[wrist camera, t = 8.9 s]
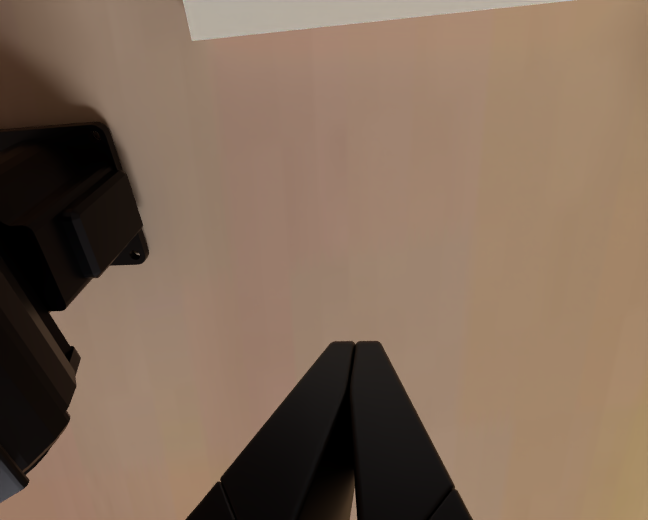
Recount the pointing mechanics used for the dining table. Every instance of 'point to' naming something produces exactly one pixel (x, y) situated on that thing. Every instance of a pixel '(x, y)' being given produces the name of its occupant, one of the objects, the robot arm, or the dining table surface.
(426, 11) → the cable board
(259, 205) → the dining table surface
